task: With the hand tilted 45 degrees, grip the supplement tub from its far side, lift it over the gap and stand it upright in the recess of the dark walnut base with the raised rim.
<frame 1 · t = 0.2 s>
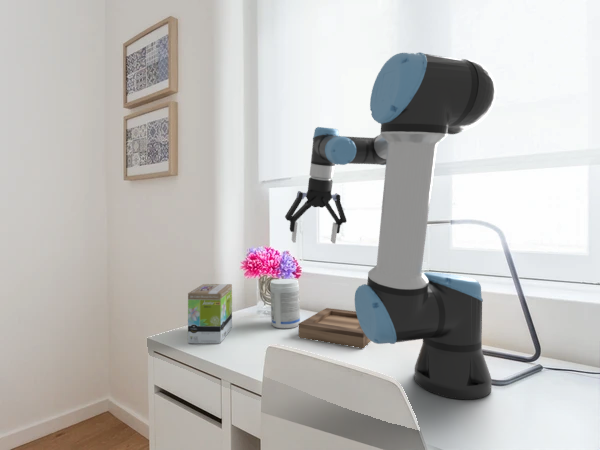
hand: (313, 241, 118), 28 cm above the table, tool tilted 15°, fingers open, 13 cm apart
walnut base: (342, 332, 110), on the table
supplement tub: (285, 325, 119), on the table
tea box: (211, 336, 109), on the table
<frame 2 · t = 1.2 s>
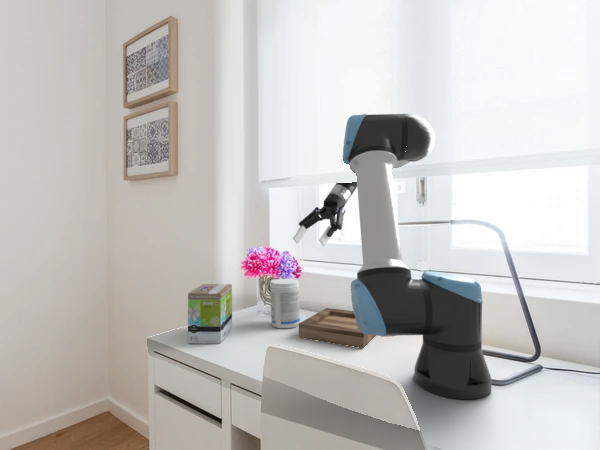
hand: (307, 242, 125), 27 cm above the table, tool tilted 45°, fingers open, 13 cm apart
nothing on the table moved.
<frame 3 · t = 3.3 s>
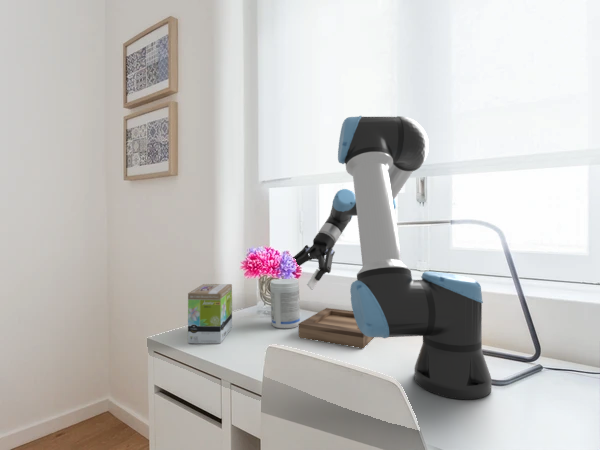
hand: (296, 284, 123), 13 cm above the table, tool tilted 45°, fingers open, 13 cm apart
nothing on the table moved.
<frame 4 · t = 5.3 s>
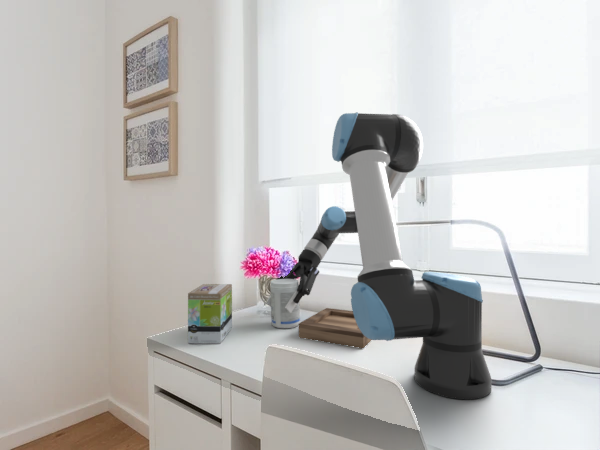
hand: (277, 307, 117), 6 cm above the table, tool tilted 45°, fingers closed on supplement tub, 9 cm apart
supplement tub: (285, 325, 119), on the table, touching gripper
everything else where it was.
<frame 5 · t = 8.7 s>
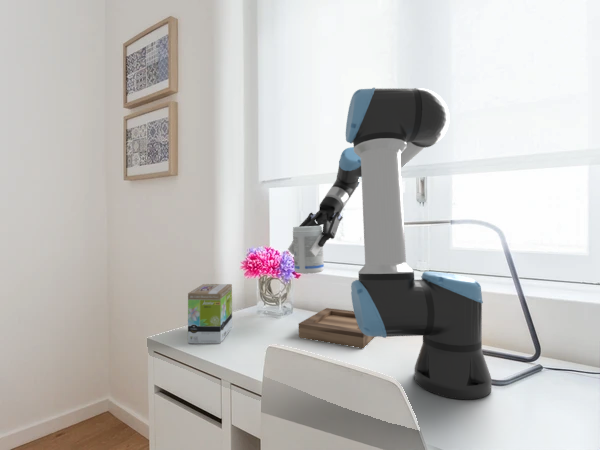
hand: (301, 252, 113), 24 cm above the table, tool tilted 45°, fingers closed on supplement tub, 9 cm apart
supplement tub: (308, 272, 115), point 18 cm above the table, touching gripper
everything else where it was.
when the fingers open (11 cm above the table, at t = 12.6 s): supplement tub drops 2 cm, resting on walnut base.
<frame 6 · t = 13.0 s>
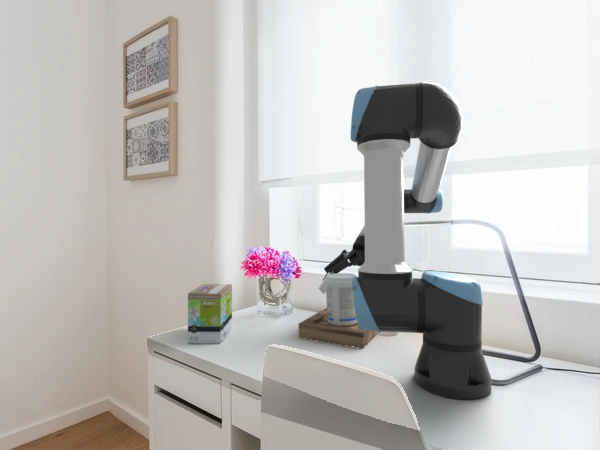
hand: (337, 294, 108), 12 cm above the table, tool tilted 45°, fingers open, 13 cm apart
supplement tub: (342, 323, 110), point 3 cm above the table, touching walnut base
everything else where it was.
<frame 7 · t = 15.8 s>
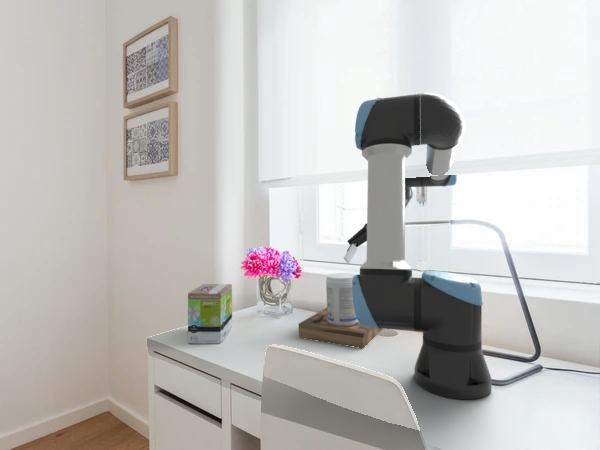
hand: (362, 262, 116), 21 cm above the table, tool tilted 45°, fingers open, 13 cm apart
nothing on the table moved.
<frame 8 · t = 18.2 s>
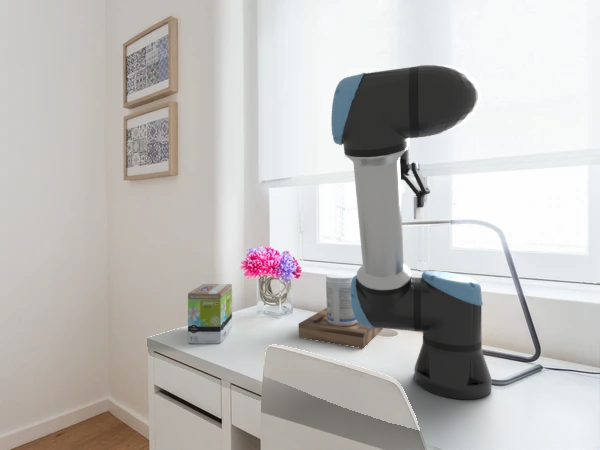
hand: (397, 219, 109), 35 cm above the table, tool pointing down, fingers open, 13 cm apart
nothing on the table moved.
at the end: supplement tub inside the target area on the walnut base (0.3 cm from its centre), point 2.8 cm above the walnut base's base; supplement tub tilted 0°; the gripper is holding nothing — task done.
